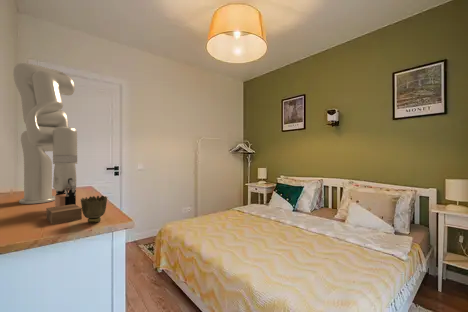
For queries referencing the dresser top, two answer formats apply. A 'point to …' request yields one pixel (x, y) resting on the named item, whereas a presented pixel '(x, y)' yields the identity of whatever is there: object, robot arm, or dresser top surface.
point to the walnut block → (63, 213)
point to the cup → (93, 208)
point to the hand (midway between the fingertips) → (65, 205)
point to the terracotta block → (60, 200)
